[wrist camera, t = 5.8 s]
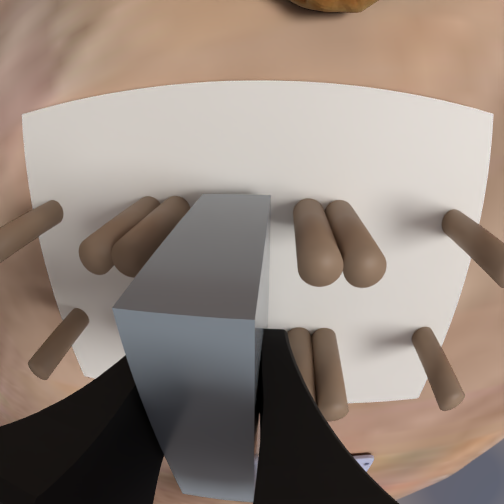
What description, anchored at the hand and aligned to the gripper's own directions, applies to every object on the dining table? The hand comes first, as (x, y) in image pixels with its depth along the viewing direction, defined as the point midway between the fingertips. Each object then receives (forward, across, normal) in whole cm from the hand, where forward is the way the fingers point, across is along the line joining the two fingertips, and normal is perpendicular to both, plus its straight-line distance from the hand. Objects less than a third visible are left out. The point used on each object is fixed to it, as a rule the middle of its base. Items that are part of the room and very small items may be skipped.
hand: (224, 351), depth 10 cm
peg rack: (+6, 0, 0) cm, 6 cm away
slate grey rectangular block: (+4, 0, 0) cm, 4 cm away
